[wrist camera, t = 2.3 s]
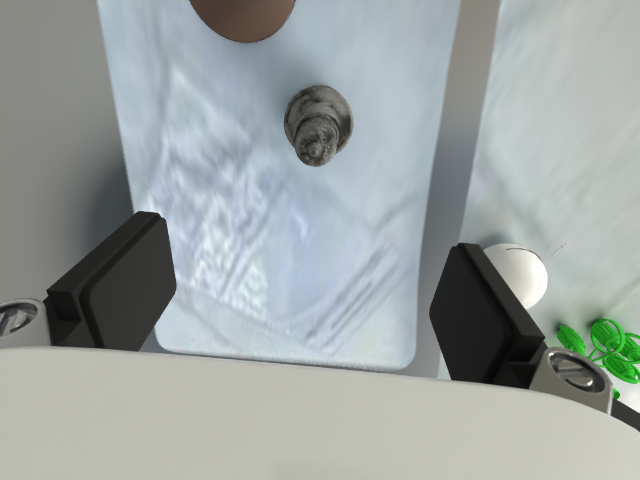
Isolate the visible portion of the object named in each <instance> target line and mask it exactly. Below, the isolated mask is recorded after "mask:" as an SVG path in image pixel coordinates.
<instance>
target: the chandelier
mask: <svg viewBox="0 0 640 480" xmlns="http://www.w3.org/2000/svg"><path fill="white" fill-rule="evenodd" d="M603 321H609V322H611V323H613V324H614V325H615V326H616V327H617V329H618V331H619V334H618V333H617V332H616V331H615V330H614V329H613V328H612V327H611V326H610V325H608V324H607V323H604V322H603ZM559 329H560V330H559V331H558V332H557V338H558V339H559V340H560V342H561V343H562V344H563V346H564V347H565V348H566V349H569V350H572V351H575V352H577V353H579V354H581V355H583V356H585V354H584V352H585V351H584V350H585V348H586V346H585V345H584V342H583V340H582V339H581V338H580V336H579V335H578V334H577V333H576V332H575V331H574V330H573V329H571V328H566V327H565V326H564V325H561V326H559ZM601 329H602V330H601ZM629 336H631V337H635V338H638V339H640V336H638V335H635V334H631V333H624V331H623V329H622V328H621V326H620V325H619V324H618V323H617V322H615V321H613V320H610V319H600V320H597V321H596V322H595V323H594V324H593V326H592V328H591V340H592V342H593V344H594V346H595V347H596V348H595V349H594V351H593V352H592V353H591V354H590V355H589V357H586V356H585V357H586V358H588V359H590V360H591V357H592V356H593V354H594V353H595V352H596V351H597V350H599V351H601V352H603V353H606V354H607V355H604V356H602V357H599V358H596V359H593V360H591V361H593V362H594V361H597V360H600V359H602V358H603V359H602V363H603V365H598V366H599V367H605V368H606V369H607V370H608V371H609V372H610V373H612V374H613V375H614V376H616V377H617V378H619V379H621V380H623V381H625V382H628V383H633V384H636V383H639V382H640V371H639V370H638V369H637V368H636V367H635V366H634V365H632V364H639V363H640V347H639V346H638V345H637V344H636V343H635V342H634V341H633V340H632V339H631V338H630V337H629ZM596 339H597V340H598V341H599V342H600V343H601V344H603V345H604V346H605V347H606V348H607V351H608V352H606V351H604V350H603V349H602V348H601V347H600V346H599V345H598V343H597V341H596ZM609 349H614V351H612V352H610V351H609ZM618 352H619V353H620V354H621V355H622V356H624V357H626V358H627V359H628V360H631V361H627V360H625V359H624V358H623V357H622V356H620V355H613V354H616V353H618ZM606 358H608V359H607V360H606ZM633 360H634V361H633ZM614 362H615V363H614ZM636 374H637V376H638V380H636V378H635V376H636ZM619 397H620V394H619V392H618V391H617V390H616V389H614V388H613V398H614V399H616V400H617V399H618V398H619Z"/></svg>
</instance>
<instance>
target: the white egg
mask: <svg viewBox="0 0 640 480" xmlns="http://www.w3.org/2000/svg"><path fill="white" fill-rule="evenodd" d="M565 244H566V243H565ZM565 244H564V245H565ZM564 245H563V246H564ZM561 247H562V246H561ZM561 247H560V248H561ZM560 248H559V249H560ZM557 250H558V249H557ZM557 250H556V251H557ZM483 251H484V253H485V254H486V255H487V257H488V258H489V260H490V261H491V262H492V264H493V265H494V267H495V268H496V269H497V271H498V272H499V273H500V275H501V276H502V278H503V279H504V280H505V282H506V283H507V285H508V286H509V287H510V289H511V290H512V291H513V293H514V294H515V296H516V297H517V298H518V300H519V301H520V303H521V304H522V305H523V307H524V308H525V310H526V309H528V308H530V307H532V306H533V305H535V304H536V303H537V302H538V301H539V300H540V299H541V297H542V296H543V294H544V292H545V291H546V287H547V273H546V270H545V267H544V265H543V263H542V261H541V259H540V258H539V257H538V255H536V254H535V253H534V252H532V251H530V250H528V249H526V248H524V247H522V246H520V245H514V244H505V243H503V244H497V245H493V246H490V247H488V248H486V249H484V250H483ZM556 251H555V252H556ZM555 252H554V253H555ZM552 254H553V253H552ZM552 254H551V255H552ZM551 255H550V256H551ZM550 256H549V257H550ZM547 258H548V257H547ZM547 258H546V259H547ZM546 259H545V260H546Z"/></svg>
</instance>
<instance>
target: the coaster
mask: <svg viewBox="0 0 640 480" xmlns="http://www.w3.org/2000/svg"><path fill="white" fill-rule="evenodd" d="M295 1H296V0H190V2H191V4H192V6H193V8H194V9H195V11H196V13H197V14H198V15H199V17H200V18H201V19H202V20H203V21H204V22H205V23H206V25H207V26H209V27H210V28H211V29H212V30H213V31H215V32H216V33H218V34H219V35H221V36H223V37H225V38H227V39H230V40H233V41H237V42H245V43H250V42H257V41H261V40H264V39H266V38H268V37H270V36H271V35H273V34H274V33H276V32H277V31H278V30H279V29H280V28H281V27H282V26H283V25H284V23H285V22H286V21H287V19H288V17H289V16H290V14H291V12H292V10H293V7H294V4H295Z"/></svg>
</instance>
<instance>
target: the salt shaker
mask: <svg viewBox="0 0 640 480" xmlns="http://www.w3.org/2000/svg"><path fill="white" fill-rule="evenodd" d="M284 128H285V133H286V136H287V138H288V140H289V142H290V143H291V145H292V146H293V147H294V148H295V151H296V154H297V156H298V158H299V159H300V160H301V161H302V162H303V163H304V164H306V165H309V166H313V167H317V166H322V165H325V164H326V163H328V162H329V161H330V160H331V159H332V158H333V157H334V155H335V154H337V153H338V152H340V151H341V150H342V149H343V148H344V147H345V146H346V144H347V143H348V141H349V139H350V137H351V135H352V130H353V115H352V112H351V108H350V106H349V105H348V103H347V101H346V100H345V99H344V98H343V97H342V96H341V95H340V94H339V93H338V92H337V91H336V90H334V89H332V88H330V87H327V86H322V85H319V86H312V87H310V88H307V89H305V90H302V91H301V92H300V93H298V94H297V95H296V96H294V98H293V99H292V100H291V102H290V103H289V104H288V107H287V109H286V112H285V117H284Z"/></svg>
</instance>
